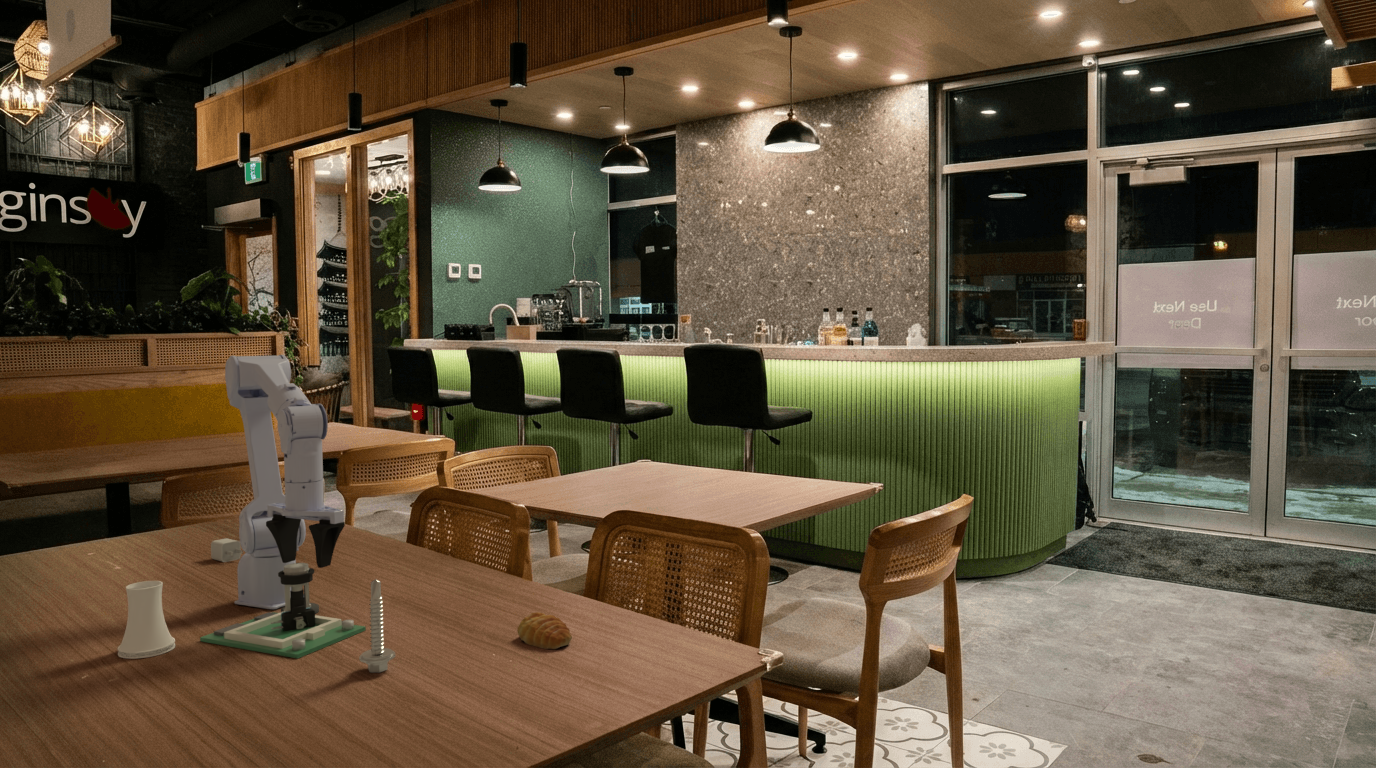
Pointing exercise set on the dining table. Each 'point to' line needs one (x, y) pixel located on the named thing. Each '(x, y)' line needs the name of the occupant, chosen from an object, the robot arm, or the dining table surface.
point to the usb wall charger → (225, 550)
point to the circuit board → (283, 635)
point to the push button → (296, 597)
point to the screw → (377, 634)
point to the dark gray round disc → (313, 606)
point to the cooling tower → (145, 622)
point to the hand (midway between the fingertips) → (306, 563)
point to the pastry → (544, 631)
